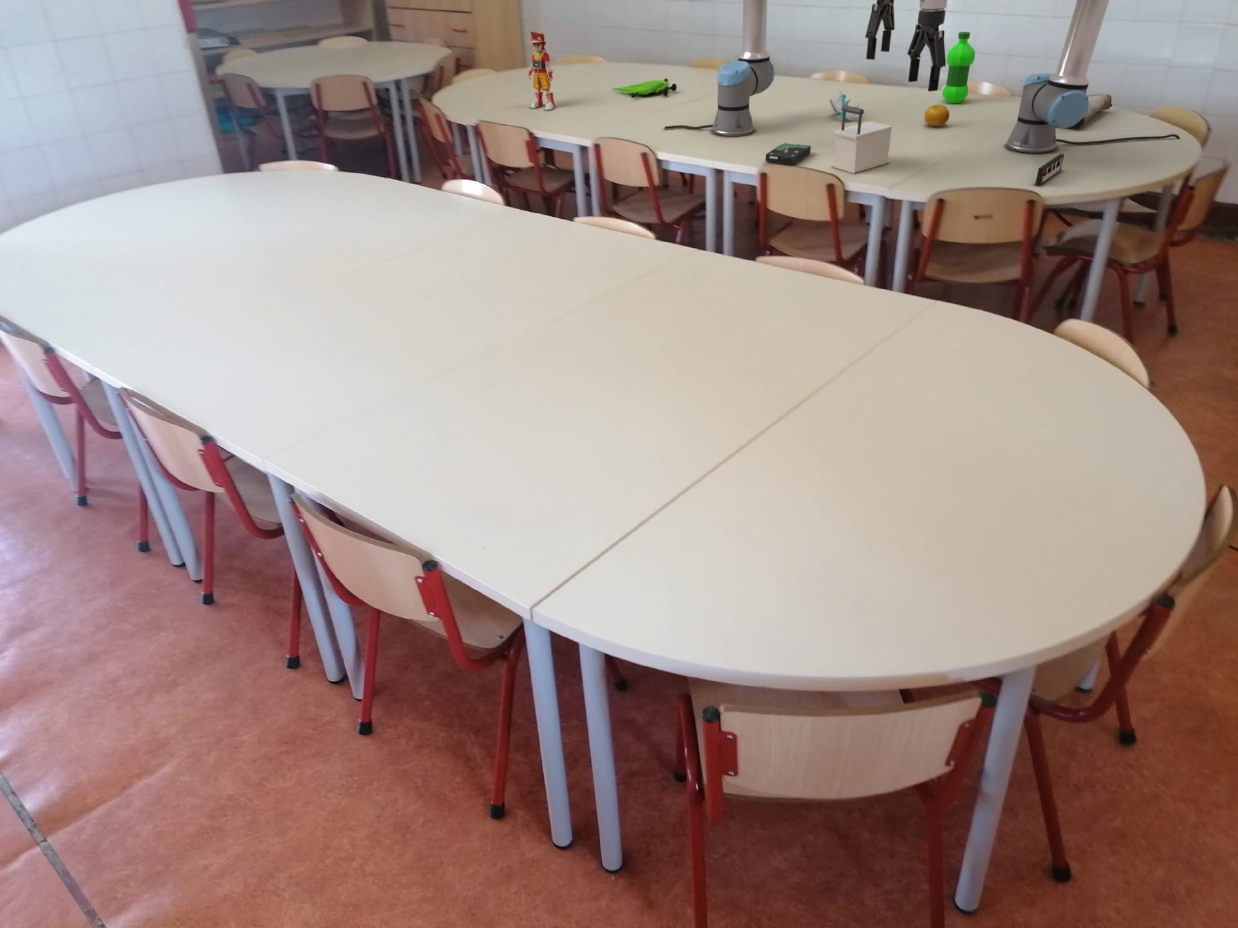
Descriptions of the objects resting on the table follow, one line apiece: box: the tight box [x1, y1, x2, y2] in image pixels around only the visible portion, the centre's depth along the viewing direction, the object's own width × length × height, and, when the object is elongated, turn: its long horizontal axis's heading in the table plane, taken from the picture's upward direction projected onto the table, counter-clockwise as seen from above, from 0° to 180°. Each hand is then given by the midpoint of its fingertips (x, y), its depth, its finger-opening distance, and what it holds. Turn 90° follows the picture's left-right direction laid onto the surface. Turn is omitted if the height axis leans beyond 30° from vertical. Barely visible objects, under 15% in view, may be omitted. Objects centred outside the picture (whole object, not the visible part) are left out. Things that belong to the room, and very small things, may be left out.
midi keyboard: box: [1035, 153, 1065, 186], centre depth 273 cm, size 18×1×5 cm, turn 138°
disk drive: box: [765, 142, 812, 165], centre depth 304 cm, size 10×3×15 cm
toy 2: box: [612, 78, 677, 99], centre depth 396 cm, size 28×5×30 cm
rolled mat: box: [1067, 93, 1113, 130], centre depth 324 cm, size 30×9×10 cm
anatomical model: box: [829, 90, 864, 122], centre depth 342 cm, size 15×10×10 cm
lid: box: [833, 105, 893, 140], centre depth 286 cm, size 16×9×9 cm, turn 124°
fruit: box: [923, 104, 950, 127], centre depth 326 cm, size 8×8×8 cm
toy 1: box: [527, 31, 556, 111], centre depth 374 cm, size 12×9×30 cm
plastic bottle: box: [942, 31, 976, 104], centre depth 348 cm, size 10×10×25 cm
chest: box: [832, 129, 892, 174], centre depth 292 cm, size 16×9×11 cm, turn 124°
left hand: (877, 55), depth 303 cm, fingers open, 13 cm apart
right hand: (922, 86), depth 275 cm, fingers open, 13 cm apart
